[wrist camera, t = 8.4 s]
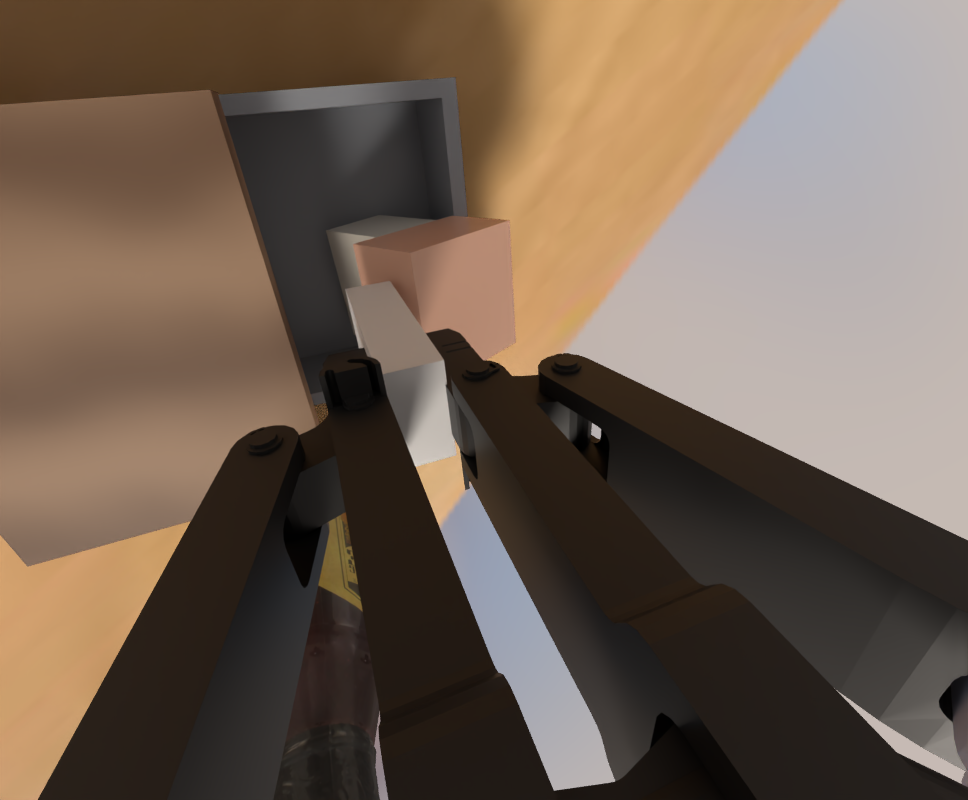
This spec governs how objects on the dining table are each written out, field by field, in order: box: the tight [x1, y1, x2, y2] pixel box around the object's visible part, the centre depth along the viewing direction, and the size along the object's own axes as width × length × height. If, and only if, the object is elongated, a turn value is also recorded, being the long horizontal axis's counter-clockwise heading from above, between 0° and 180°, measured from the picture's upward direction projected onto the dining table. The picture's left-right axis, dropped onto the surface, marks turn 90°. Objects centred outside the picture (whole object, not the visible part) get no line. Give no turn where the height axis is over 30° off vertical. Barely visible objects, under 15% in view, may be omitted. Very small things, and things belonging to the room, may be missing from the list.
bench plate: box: [0, 90, 320, 566], centre depth 19 cm, size 14×11×8 cm
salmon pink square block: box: [353, 216, 516, 361], centre depth 19 cm, size 5×5×3 cm
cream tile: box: [326, 215, 435, 335], centre depth 22 cm, size 5×5×3 cm
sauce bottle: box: [273, 512, 380, 800], centre depth 22 cm, size 6×6×20 cm
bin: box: [218, 77, 468, 405], centre depth 21 cm, size 12×12×5 cm
